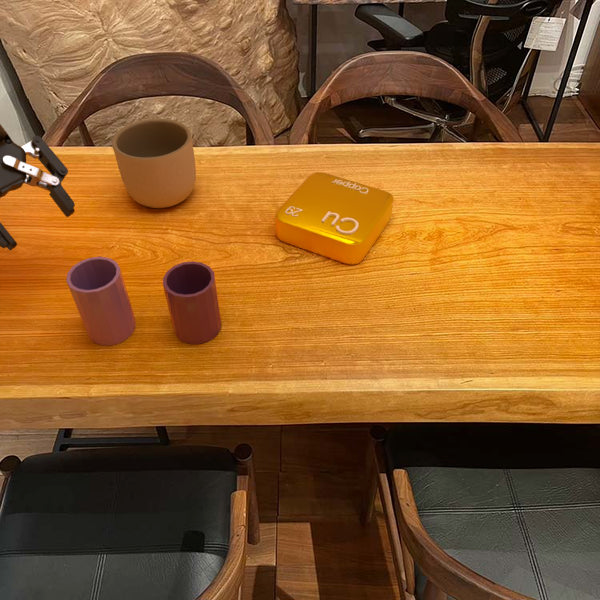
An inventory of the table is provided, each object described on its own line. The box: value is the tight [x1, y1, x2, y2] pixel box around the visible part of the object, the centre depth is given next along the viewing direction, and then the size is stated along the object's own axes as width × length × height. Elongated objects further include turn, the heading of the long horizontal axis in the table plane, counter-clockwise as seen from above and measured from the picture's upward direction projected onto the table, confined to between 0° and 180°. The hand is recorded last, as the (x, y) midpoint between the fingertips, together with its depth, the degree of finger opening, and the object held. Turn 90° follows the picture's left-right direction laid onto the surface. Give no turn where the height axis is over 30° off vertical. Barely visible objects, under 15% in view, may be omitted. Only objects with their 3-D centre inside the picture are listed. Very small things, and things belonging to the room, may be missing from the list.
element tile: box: [274, 171, 394, 265], centre depth 93 cm, size 15×15×5 cm
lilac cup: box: [65, 256, 137, 346], centre depth 76 cm, size 6×6×10 cm
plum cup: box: [162, 261, 222, 345], centre depth 77 cm, size 6×6×9 cm
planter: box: [111, 117, 197, 209], centre depth 97 cm, size 12×12×11 cm
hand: (43, 230), depth 74 cm, fingers open, 8 cm apart
